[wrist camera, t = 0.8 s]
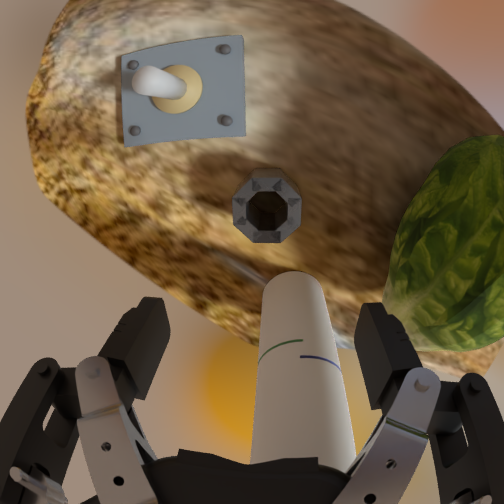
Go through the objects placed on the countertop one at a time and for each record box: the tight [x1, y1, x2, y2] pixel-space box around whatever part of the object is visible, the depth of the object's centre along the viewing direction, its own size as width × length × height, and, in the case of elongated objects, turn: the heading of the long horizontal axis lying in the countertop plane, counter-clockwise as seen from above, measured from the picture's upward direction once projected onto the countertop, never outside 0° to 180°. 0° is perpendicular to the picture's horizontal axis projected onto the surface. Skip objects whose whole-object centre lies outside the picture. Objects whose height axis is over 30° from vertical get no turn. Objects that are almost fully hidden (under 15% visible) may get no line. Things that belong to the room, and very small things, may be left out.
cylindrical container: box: [250, 271, 356, 473], centre depth 21 cm, size 7×7×25 cm
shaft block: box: [121, 35, 246, 147], centre depth 19 cm, size 12×10×8 cm
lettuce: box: [382, 135, 504, 352], centre depth 19 cm, size 17×23×17 cm
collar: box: [232, 168, 302, 243], centre depth 25 cm, size 6×6×5 cm
